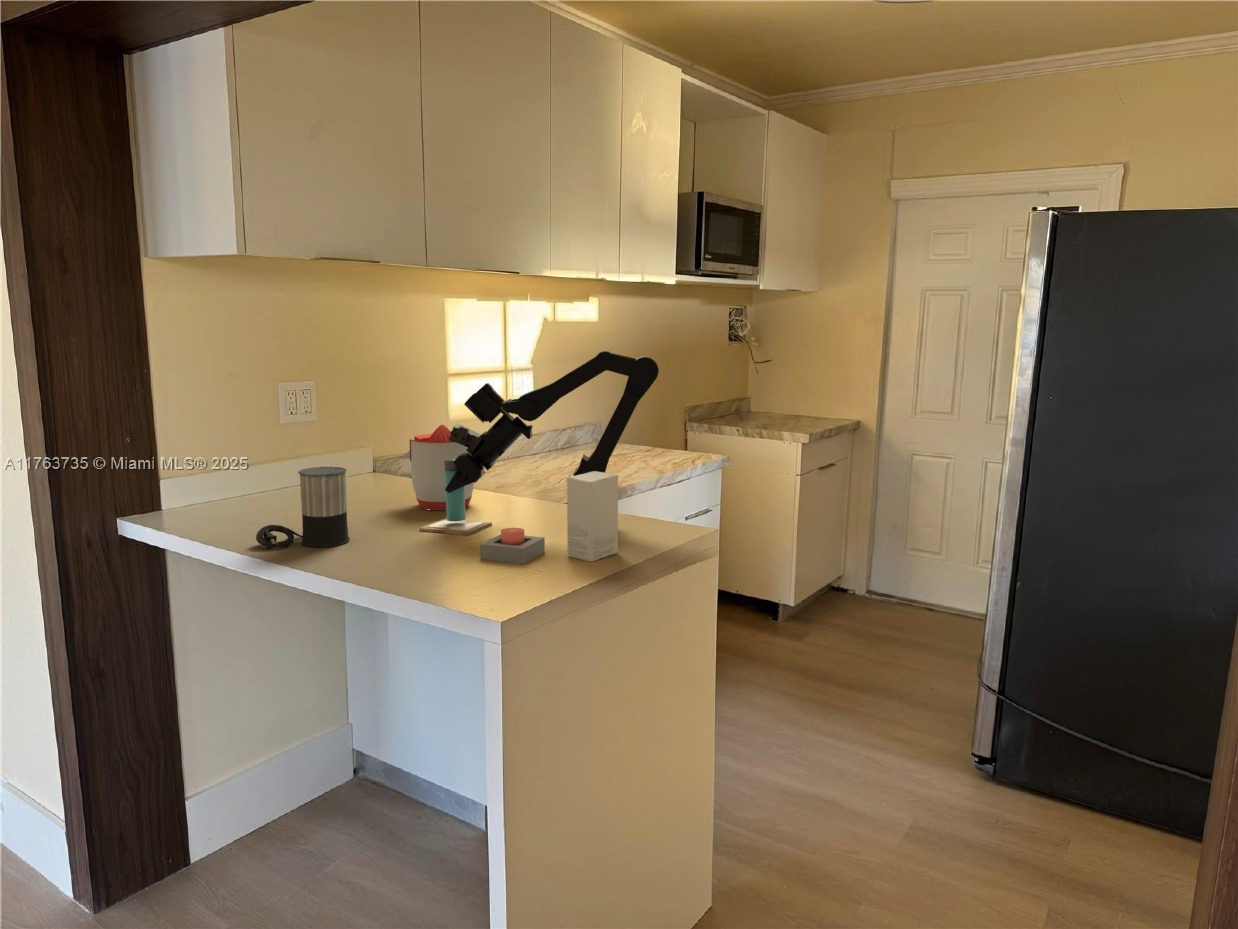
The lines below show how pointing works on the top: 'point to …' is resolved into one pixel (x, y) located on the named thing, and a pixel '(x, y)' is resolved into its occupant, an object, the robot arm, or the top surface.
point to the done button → (512, 536)
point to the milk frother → (316, 511)
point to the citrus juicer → (433, 467)
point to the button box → (512, 550)
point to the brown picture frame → (455, 527)
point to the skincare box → (592, 515)
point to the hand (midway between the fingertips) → (448, 489)
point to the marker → (453, 495)
